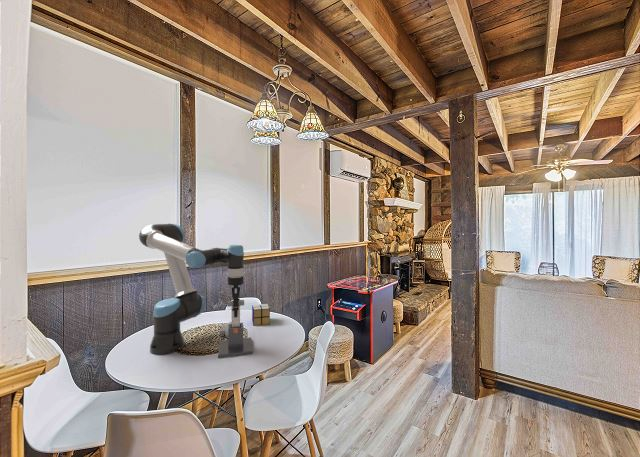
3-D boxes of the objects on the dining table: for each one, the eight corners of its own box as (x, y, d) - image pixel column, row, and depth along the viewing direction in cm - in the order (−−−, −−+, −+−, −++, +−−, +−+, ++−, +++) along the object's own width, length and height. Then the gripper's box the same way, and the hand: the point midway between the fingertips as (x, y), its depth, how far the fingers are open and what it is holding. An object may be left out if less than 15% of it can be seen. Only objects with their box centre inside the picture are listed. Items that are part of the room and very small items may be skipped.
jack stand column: (227, 347, 140) (227, 303, 139) (227, 343, 144) (227, 300, 144) (244, 345, 143) (244, 301, 142) (244, 341, 147) (244, 299, 146)
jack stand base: (218, 358, 134) (217, 333, 133) (219, 343, 149) (219, 321, 149) (253, 353, 138) (253, 330, 138) (251, 340, 154) (251, 318, 153)
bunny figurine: (220, 333, 153) (217, 320, 166) (220, 342, 153) (216, 329, 166) (239, 330, 157) (233, 318, 170) (238, 338, 158) (233, 326, 171)
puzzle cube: (252, 320, 183) (252, 304, 182) (267, 318, 186) (267, 303, 185) (253, 326, 173) (253, 309, 173) (269, 324, 176) (270, 308, 176)
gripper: (244, 281, 131) (244, 327, 132) (243, 271, 155) (243, 309, 156) (227, 282, 129) (227, 328, 130) (228, 271, 153) (228, 311, 154)
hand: (235, 318), depth 143 cm, fingers open, 13 cm apart
